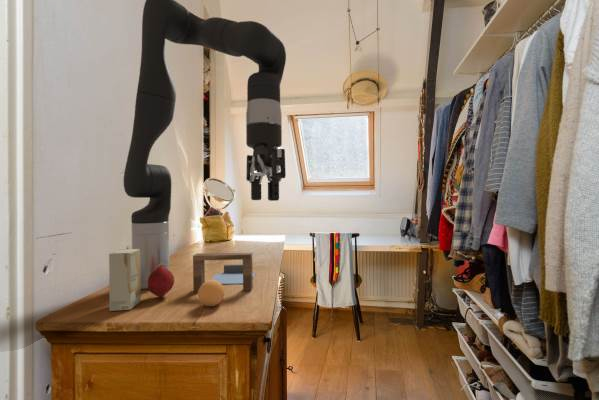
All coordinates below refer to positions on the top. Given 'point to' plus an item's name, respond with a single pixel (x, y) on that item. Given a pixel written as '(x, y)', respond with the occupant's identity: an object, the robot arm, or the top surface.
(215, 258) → the bridge
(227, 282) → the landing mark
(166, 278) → the onion
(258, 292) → the top surface
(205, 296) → the ball
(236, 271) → the stopper strip
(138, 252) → the skincare box
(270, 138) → the robot arm
